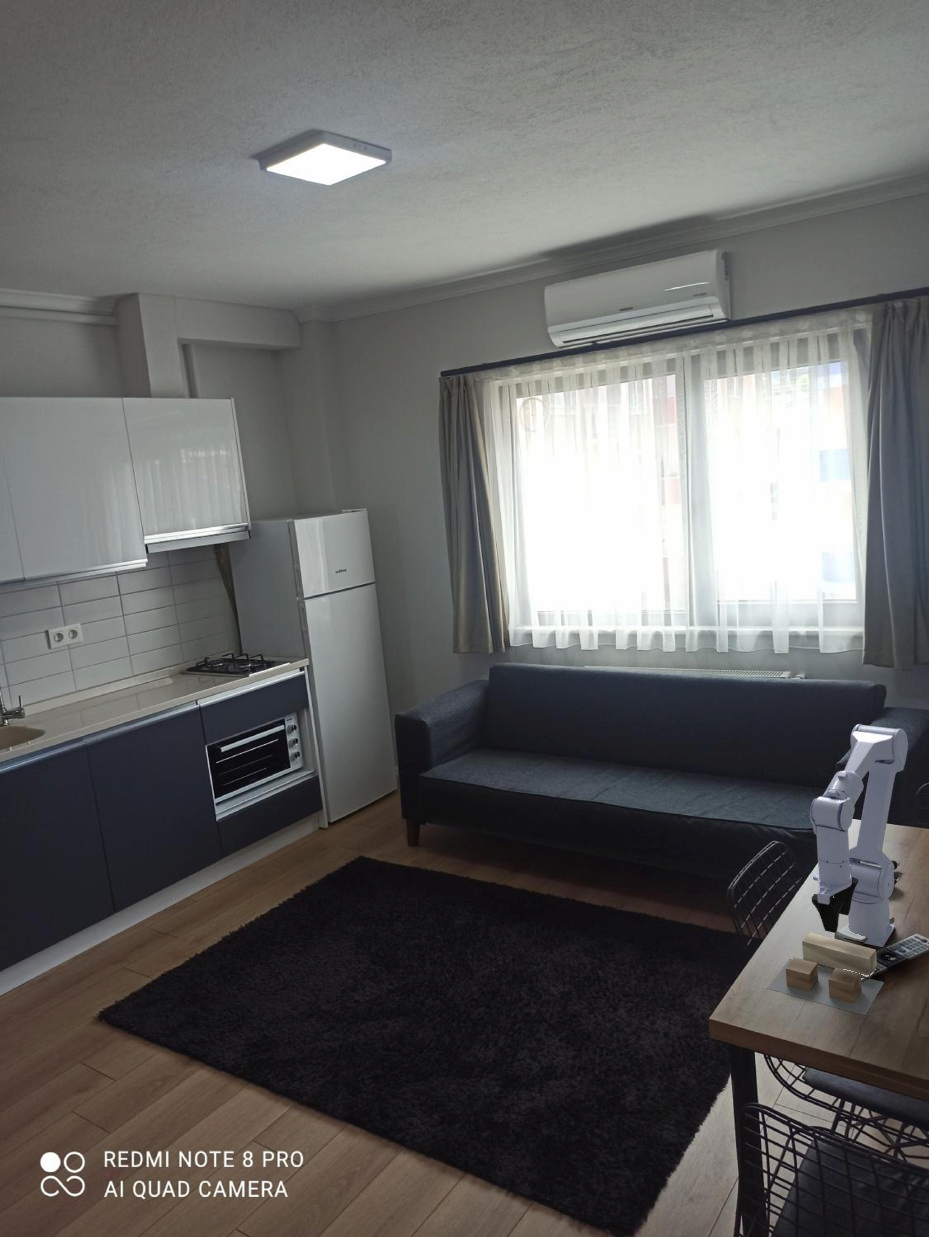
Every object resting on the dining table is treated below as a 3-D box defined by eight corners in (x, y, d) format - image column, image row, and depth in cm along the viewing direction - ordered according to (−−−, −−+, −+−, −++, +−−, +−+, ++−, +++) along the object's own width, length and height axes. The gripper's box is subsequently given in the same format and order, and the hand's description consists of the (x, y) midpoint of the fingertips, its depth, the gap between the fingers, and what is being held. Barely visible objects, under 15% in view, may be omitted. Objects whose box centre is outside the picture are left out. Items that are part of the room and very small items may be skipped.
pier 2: (836, 984, 175) (835, 967, 175) (861, 990, 173) (860, 973, 172) (829, 996, 172) (828, 979, 172) (854, 1003, 169) (853, 985, 169)
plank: (811, 952, 188) (810, 932, 187) (877, 970, 179) (876, 949, 179) (803, 961, 185) (802, 941, 185) (869, 980, 176) (868, 959, 176)
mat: (789, 960, 186) (789, 958, 186) (884, 983, 175) (883, 982, 174) (767, 989, 177) (767, 988, 177) (865, 1016, 165) (865, 1015, 165)
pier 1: (794, 973, 181) (793, 957, 180) (818, 979, 178) (817, 962, 177) (786, 985, 177) (785, 968, 177) (810, 991, 174) (809, 974, 174)
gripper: (824, 839, 186) (828, 902, 189) (799, 868, 176) (803, 934, 178) (861, 845, 182) (864, 909, 184) (837, 875, 171) (841, 942, 173)
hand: (837, 922), depth 181 cm, fingers open, 7 cm apart
